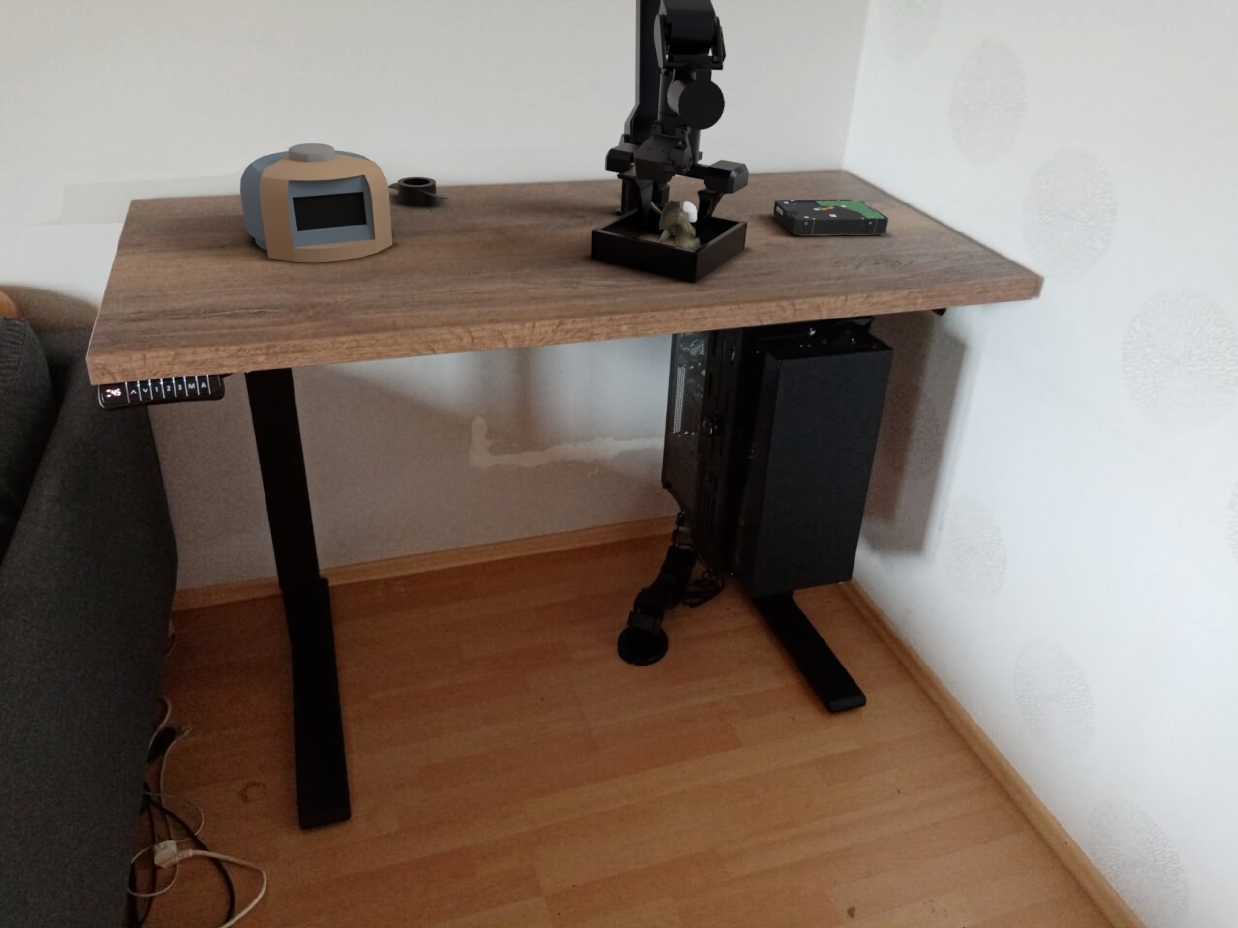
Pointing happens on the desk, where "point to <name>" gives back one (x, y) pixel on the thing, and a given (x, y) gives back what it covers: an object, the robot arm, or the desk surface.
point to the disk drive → (830, 217)
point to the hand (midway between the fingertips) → (670, 231)
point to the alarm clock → (316, 204)
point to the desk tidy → (667, 246)
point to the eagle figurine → (678, 224)
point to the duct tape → (416, 191)
